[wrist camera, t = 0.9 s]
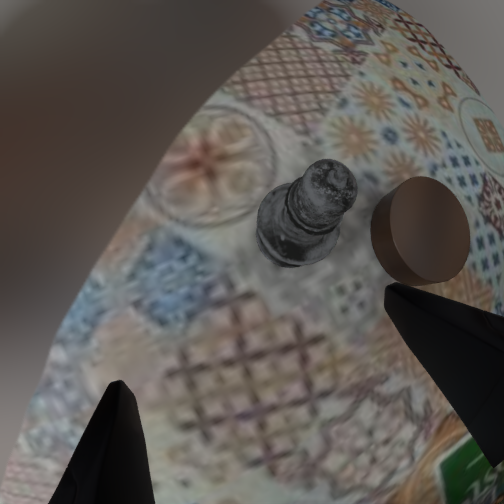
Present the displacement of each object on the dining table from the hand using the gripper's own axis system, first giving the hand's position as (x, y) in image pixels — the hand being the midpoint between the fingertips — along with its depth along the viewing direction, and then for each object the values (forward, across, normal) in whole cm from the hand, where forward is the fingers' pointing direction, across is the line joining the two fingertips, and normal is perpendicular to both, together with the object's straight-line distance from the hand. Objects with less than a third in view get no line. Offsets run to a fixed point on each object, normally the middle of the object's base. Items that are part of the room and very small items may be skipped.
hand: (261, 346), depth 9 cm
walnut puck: (+12, -17, +8) cm, 22 cm away
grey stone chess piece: (+14, -6, +5) cm, 16 cm away
